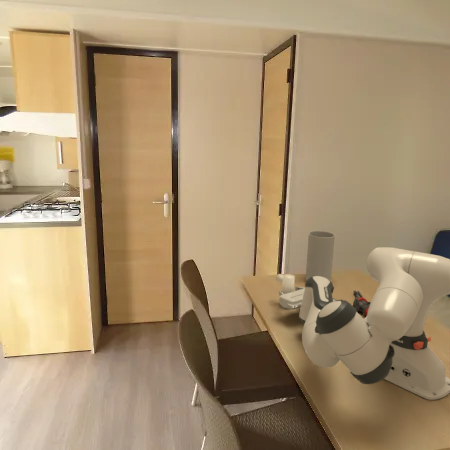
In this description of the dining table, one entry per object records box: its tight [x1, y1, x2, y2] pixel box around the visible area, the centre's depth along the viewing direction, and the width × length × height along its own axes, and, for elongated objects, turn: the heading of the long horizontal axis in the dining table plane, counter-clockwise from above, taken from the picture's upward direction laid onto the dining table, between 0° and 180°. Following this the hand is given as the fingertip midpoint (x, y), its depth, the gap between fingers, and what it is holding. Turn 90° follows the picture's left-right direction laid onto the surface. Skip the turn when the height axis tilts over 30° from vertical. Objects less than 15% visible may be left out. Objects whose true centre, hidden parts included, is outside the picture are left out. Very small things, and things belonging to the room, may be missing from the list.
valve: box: [352, 289, 371, 316], centre depth 160 cm, size 6×26×15 cm
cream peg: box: [275, 273, 296, 310], centre depth 159 cm, size 8×5×14 cm, turn 34°
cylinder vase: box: [305, 230, 336, 282], centre depth 184 cm, size 12×12×25 cm
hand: (288, 290), depth 156 cm, fingers open, 8 cm apart
